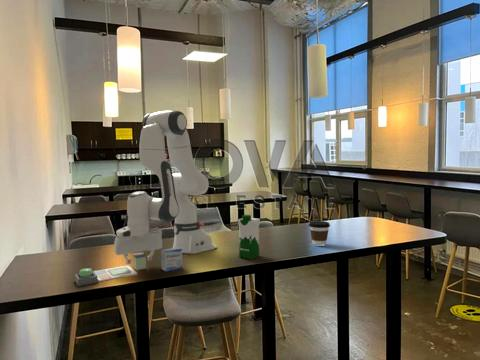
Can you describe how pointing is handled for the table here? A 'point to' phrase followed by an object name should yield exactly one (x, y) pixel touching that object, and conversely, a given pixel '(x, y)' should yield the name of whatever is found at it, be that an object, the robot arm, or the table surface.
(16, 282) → the table surface
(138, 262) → the marker block
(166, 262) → the medicine box
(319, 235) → the coffee cup
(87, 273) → the button
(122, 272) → the picture board
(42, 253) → the table surface
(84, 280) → the button housing
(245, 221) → the milk carton
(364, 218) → the table surface
